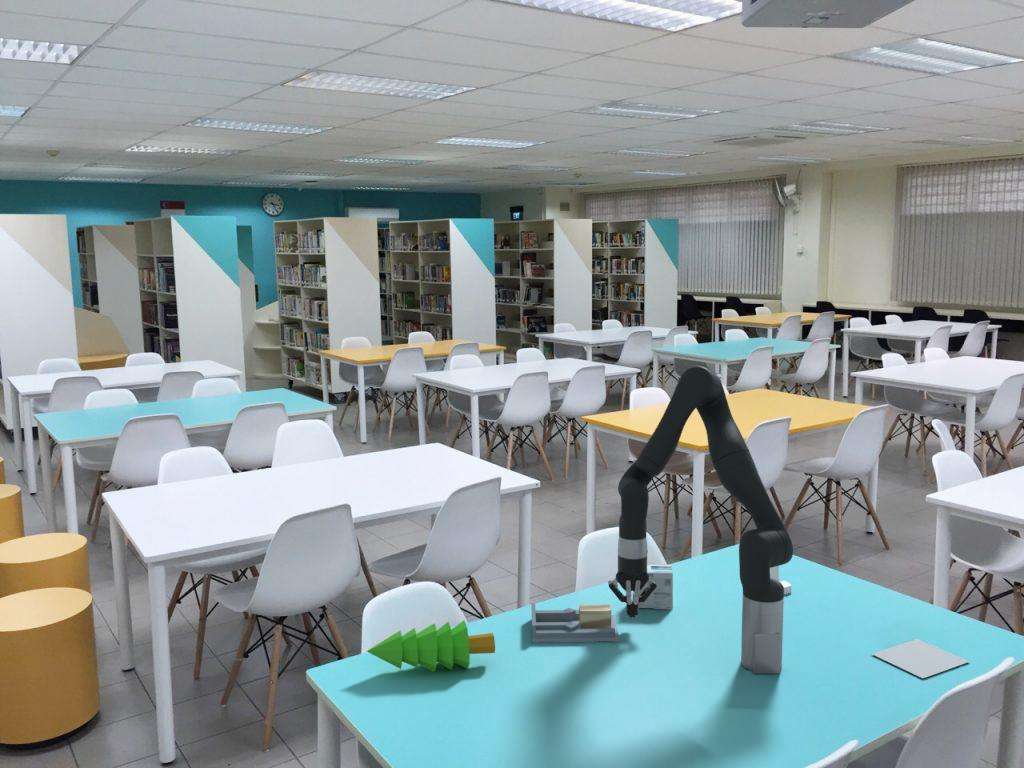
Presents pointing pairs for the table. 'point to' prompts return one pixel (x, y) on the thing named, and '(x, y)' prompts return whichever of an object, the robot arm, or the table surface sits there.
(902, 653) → the paper stack
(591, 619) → the birch block
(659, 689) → the table surface
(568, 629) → the slot board
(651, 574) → the light bulb box
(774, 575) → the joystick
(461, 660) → the decorative tree
